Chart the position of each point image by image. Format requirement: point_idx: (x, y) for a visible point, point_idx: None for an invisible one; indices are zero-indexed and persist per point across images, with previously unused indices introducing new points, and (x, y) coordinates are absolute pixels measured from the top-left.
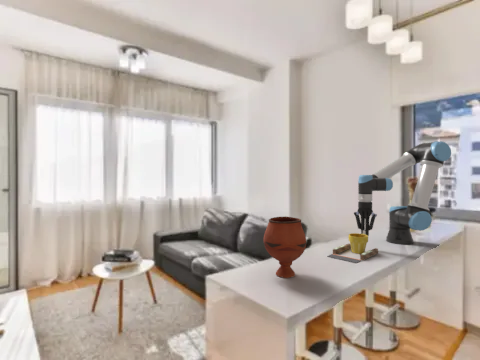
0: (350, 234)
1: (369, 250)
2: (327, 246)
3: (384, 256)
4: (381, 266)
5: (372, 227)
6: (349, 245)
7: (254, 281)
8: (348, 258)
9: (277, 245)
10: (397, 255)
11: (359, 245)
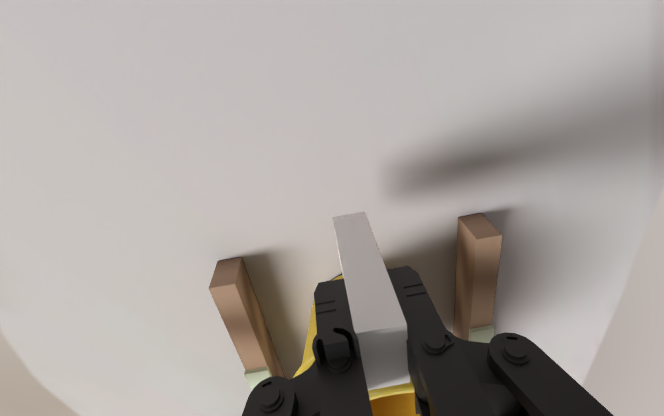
0: None
1: (474, 339)
2: (104, 355)
3: (546, 250)
4: None
5: (566, 379)
6: (246, 303)
7: None
8: None
9: None
10: (633, 148)
11: (413, 393)
